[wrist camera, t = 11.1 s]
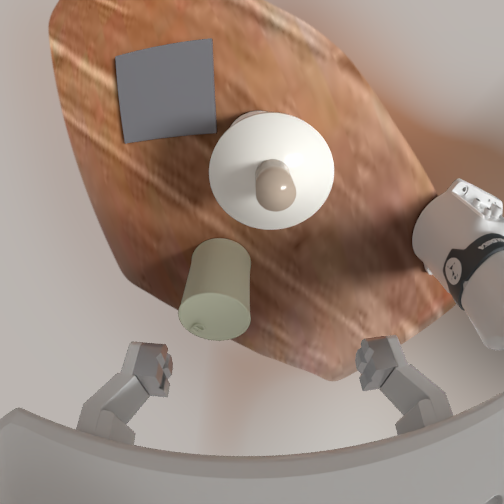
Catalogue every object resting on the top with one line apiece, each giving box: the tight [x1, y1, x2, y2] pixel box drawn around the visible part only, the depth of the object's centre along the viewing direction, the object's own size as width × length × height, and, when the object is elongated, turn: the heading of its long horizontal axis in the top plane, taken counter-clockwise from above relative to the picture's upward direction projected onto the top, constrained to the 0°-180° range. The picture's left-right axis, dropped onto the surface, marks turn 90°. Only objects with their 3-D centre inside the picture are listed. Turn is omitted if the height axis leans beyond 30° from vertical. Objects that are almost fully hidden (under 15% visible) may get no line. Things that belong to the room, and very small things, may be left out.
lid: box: [209, 112, 334, 230], centre depth 22 cm, size 11×11×5 cm
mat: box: [115, 38, 217, 143], centre depth 28 cm, size 12×12×1 cm
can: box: [178, 238, 251, 341], centre depth 38 cm, size 9×9×12 cm
